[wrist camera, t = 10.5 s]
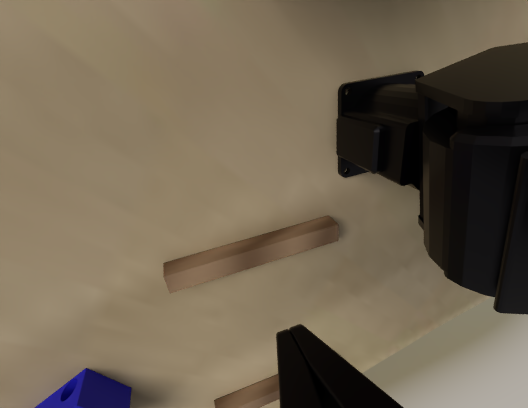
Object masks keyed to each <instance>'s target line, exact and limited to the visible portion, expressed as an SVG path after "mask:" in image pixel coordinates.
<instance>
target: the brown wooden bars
mask: <svg viewBox="0 0 528 408" xmlns="http://www.w3.org/2000/svg"><path fill="white" fill-rule="evenodd" d="M335 241H338V224H337V223H336V222H335V221H334V220H333V219H332V218H331V217H329V216H325V217H322V218H318V219H315V220H311V221H308V222H305V223H301V224H298V225H294V226H291V227H287V228H284V229H280V230H277V231H273V232H270V233H266V234H263V235H260V236H256V237H253V238H249V239H246V240H242V241H239V242H235V243H232V244H228V245H225V246H221V247H218V248H215V249H211V250H208V251H204V252H201V253H197V254H194V255H190V256H187V257H183V258H180V259H176V260H173V261H170V262H166V263H164V279H165V282H166V284H167V287H168V290H169V292H170V293H173V292H176V291H179V290H182V289H185V288H189V287H192V286H195V285H198V284H201V283H205V282H208V281H211V280H214V279H217V278H220V277H224V276H227V275H230V274H233V273H236V272H240V271H243V270H246V269H249V268H252V267H256V266H259V265H262V264H265V263H268V262H272V261H275V260H278V259H281V258H284V257H287V256H291V255H294V254H297V253H300V252H303V251H307V250H310V249H313V248H316V247H319V246H323V245H326V244H329V243H332V242H335ZM278 399H280V396H279V377H278V375H275V376H273V377H270V378H268V379H265V380H263V381H260V382H258V383H256V384H253V385H251V386H248V387H246V388H243V389H241V390H239V391H236V392H234V393H231V394H229V395H226V396H224V397H221V398H219V399H217V400H214V402H215V408H259V407H262V406H264V405H266V404H269V403H271V402H273V401H276V400H278Z"/></svg>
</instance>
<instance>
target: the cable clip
mask: <svg viewBox="0 0 528 408" xmlns="http://www.w3.org/2000/svg"><path fill="white" fill-rule="evenodd" d="M130 399H131V388H130V387H128V386H126V385H124V384H121V383H119V382H117V381H115V380H112V379H110V378H108V377H106V376H103V375H101V374H99V373H96V372H94V371H92V370H90V369H87V368H86V369H84V370H83V371H82V372H80V373H79V374H78V375H77V376H75V377H74V378H73V379H71V380H70V381H69V382H67V383H66V384H65V385H64V386H62V387H61V388H60V389H58V390H57V391H56V392H55V393H53V394H52V395H51V396H49V397H48V398H47V399H45V400H44V401H43V402H42V403H40V404H39V405H38V406H36V407H35V408H130Z"/></svg>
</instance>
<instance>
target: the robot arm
mask: <svg viewBox="0 0 528 408" xmlns="http://www.w3.org/2000/svg"><path fill="white" fill-rule="evenodd" d="M416 77H417V79H416ZM415 79H416V80H415ZM346 88H348V93H347V95H345V90H346ZM337 155H338V173H339V175H341V176H342V177H350V176H354V175H358V174H362V173H366V172H371V173H373V174H375V173H377V174H379V175H381V176H383V177H385V178H387V179H389V180H391V181H393V182H395V183H397V184H399V185H401V186H405V185H409V186H411V187H413V188H415V189H417V190H419V191H420V215H419V216H418V223H419V225H420V226H421V228H422V229H423V230H424V245H425V247H426V250H427V252H428V255H429V257H430V258H431V259H432V260H433V261H434V262H435V263H436V264H437V265H438V266H439V267H440V268H441V269H442V270H443V271H444V275H445V276H446V277H447V278H448V279H450V280H451V281H453V282H455V283H457V284H458V285H460V286H462V287H464V288H467V289H470V290H472V291H475V292H478V293H480V294H483V295H487V296H491V297H495V301H494V309H495V310H496V311H497V312H499V313H511V314H528V43H521V44H514V45H507V46H499V47H494V48H491V49H488V50H486V51H483V52H481V53H478V54H476V55H474V56H471V57H469V58H466V59H464V60H461V61H459V62H457V63H454V64H452V65H449V66H447V67H445V68H442V69H440V70H437V71H435V72H433V73H430V74H428V75H425V76H424V73H423V72H422V71H411V72H405V73H400V74H394V75H388V76H382V77H377V78H371V79H365V80H360V81H354V82H348V83H344V84H342V85H341V86H340V87H339V90H338V119H337ZM346 168H347V171H346V172H344V170H345V169H346ZM276 340H277V358H278V377H279V396H280V408H403V407H402V406H401V405H400V404H398V403H397V402H396V401H395V400H394V399H392V398H391V397H390V396H389V395H387V394H386V393H385V392H384V391H383V390H381V389H380V388H379V387H377V386H376V385H375V384H374V383H373V382H371V381H370V380H369V379H368V378H367V377H365V376H364V375H363V374H362V373H361V372H359V371H358V370H357V369H356V368H355V367H353V366H352V365H351V364H350V363H348V362H347V361H346V360H345V359H344V358H342V357H341V356H340V355H339V354H337V353H336V352H335V351H334V350H333V349H331V348H330V347H329V346H328V345H326V344H325V343H324V342H323V341H322V340H320V339H319V338H318V337H317V336H315V335H314V334H313V333H312V332H311V331H309V330H308V329H307V328H306V327H304V326H303V325H301V324H299V325H296V326H294V327H291V328H290V329H289V330H288V329H286V330H283V331H280V332H278V333H277V334H276Z"/></svg>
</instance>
